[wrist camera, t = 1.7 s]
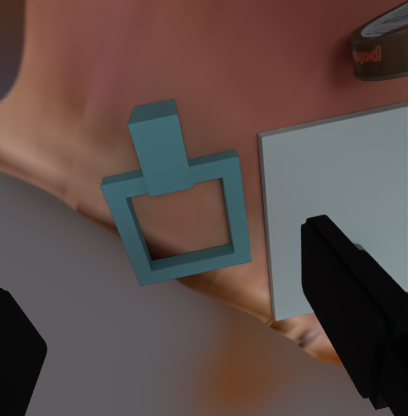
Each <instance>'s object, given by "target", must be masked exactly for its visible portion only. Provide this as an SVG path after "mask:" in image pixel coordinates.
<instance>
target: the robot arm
mask: <svg viewBox="0 0 408 416" xmlns="http://www.w3.org/2000/svg"><path fill="white" fill-rule="evenodd" d="M301 285H302V290H303V293H304V295H305V297H306V299H307V301H308V302H309V304H310V306H311V308H312V310H313V311H314V313H315V315H316V317H317V319H318V320H319V322H320V324H321V326H322V328H323V329H324V331H325V333H326V335H327V336H328V338H329V340H330V342H331V344H332V345H333V347H334V349H335V351H336V353H337V354H338V356H339V358H340V360H341V362H342V363H343V365H344V367H345V369H346V370H347V372H348V374H349V376H350V378H351V380H352V381H353V383H354V385H355V387H356V388H357V390H358V392H359V394H360V395H361V396H362V397H363V398H364V399H365V398H369V399H370V401H371V403H372V405H373V406H374V408H375V409H376V410H377V409H382V408H386V407H389V408H390V410H391V411H392V413H393V414H394V416H408V294H407V293H406V292H405V291H404V290H403V289H402V287H401V286H400V285H399V284H398V283H397V282H396V281H395V280H394V279H393V278H392V277H391V276H390V275H389V274H388V273H387V272H386V271H385V270H384V269H383V268H382V267H381V266H380V265H379V263H378V262H377V261H376V260H375V259H374V258H373V257H372V256H371V255H370V254H369V253H368V252H366V251H365V250H362V249H361V250H359V249H358V248H357V247H356V246H355V245H354V244H353V243H352V242H351V240H350V239H349V238H348V237H347V236H346V235H345V234H344V233H343V232H342V231H341V230H340V229H339V228H338V226H337V225H336V224H335V223H334V222H333V221H332V220H331V219H330V218H329V217H328V216H327V215H325V214H323V215H319V216H314V217H310V218H307V219H306V223H304V224H301ZM46 353H47V346H46V343H45V341H44V340H43V338H42V337H41V336H40V334H39V333H38V331H37V330H36V329H35V327H34V326H33V325H32V323H31V322H30V320H29V319H28V318H27V316H26V315H25V314H24V312H23V311H22V309H21V308H20V306H19V305H18V304H17V302H16V301H15V300H14V298H13V297H12V295H11V294H10V293H9V292H8V291H6V290H3V289H2V288H0V416H25V413H26V410H27V408H28V405H29V402H30V399H31V396H32V394H33V390H34V388H35V385H36V382H37V379H38V377H39V374H40V371H41V368H42V365H43V363H44V359H45V357H46Z"/></svg>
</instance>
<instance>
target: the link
mask: <svg viewBox="0 0 408 416" xmlns="http://www.w3.org/2000/svg"><path fill="white" fill-rule="evenodd" d="M128 127H129V130H130V133H131V136H132V140H133V143H134V146H135V149H136V153H137V156H138V159H139V163H140V166H141V169H142V170H138V171H133V172H128V173H124V174H119V175H114V176H110V177H105V178H103V180H102V183H101V189H102V191H103V194H104V196H105V199H106V201H107V204H108V206H109V209H110V211H111V214H112V216H113V219H114V221H115V224H116V226H117V229H118V231H119V234H120V236H121V239H122V241H123V244H124V246H125V249H126V251H127V254H128V256H129V259H130V261H131V264H132V266H133V269H134V271H135V274H136V276H137V279H138V282H139V284H140V286H143V285H148V284H152V283H156V282H161V281H166V280H170V279H175V278H179V277H184V276H189V275H193V274H198V273H202V272H207V271H211V270H216V269H220V268H225V267H229V266H234V265H238V264H243V263H247V262H252V261H251V252H250V244H249V236H248V227H247V219H246V211H245V202H244V194H243V186H242V177H241V169H240V161H239V155H238V154H237V152H236V151H235V150H232V151H227V152H222V153H218V154H213V155H208V156H204V157H199V158H194V159H189V160H187V156H186V151H185V147H184V142H183V137H182V133H181V128H180V124H179V119H178V114H177V110H176V105H175V101H174V99H170V100H165V101H160V102H155V103H151V104H146V105H141V106H136V107H134V109H133V112H132V114H131V117H130V120H129V123H128ZM218 178H221V181H222V187H223V194H224V200H225V206H226V213H227V219H228V225H229V231H230V238H231V244H227V245H222V246H218V247H213V248H209V249H204V250H200V251H195V252H191V253H186V254H181V255H177V256H172V257H168V258H163V259H159V260H154V261H152V260H151V257H150V254H149V251H148V248H147V245H146V243H145V240H144V237H143V234H142V231H141V228H140V225H139V222H138V220H137V217H136V214H135V211H134V208H133V205H132V202H131V200H130V197H134V196H139V195H143V194H148V193H149V195H150V197H153V196H158V195H163V194H167V193H172V192H177V191H181V190H186V189H191V188H193V184H194V183H199V182H204V181H208V180H213V179H218Z"/></svg>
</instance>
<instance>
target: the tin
mask: <svg viewBox="0 0 408 416" xmlns="http://www.w3.org/2000/svg"><path fill="white" fill-rule="evenodd" d="M350 47H351V53H352V58H353V63H354V68H355V70H354V76H355V77H356V78H357V79H359V80H362V81H381V80H389V79H394V78H400V77H405V76H408V1H406V2H404V3H402V4H400V5H399V6H397V7H395V8H393V9H391V10H389V11H387V12H385V13H383V14H381V15H380V16H378V17H376V18H374V19H373V20H371V21H369V22H368V23H366V24H365V25H363V26H361V27H360V28H359V29H357V30H356V31H355V32H354V33H353V35H352V36H351V38H350Z"/></svg>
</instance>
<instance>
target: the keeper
mask: <svg viewBox="0 0 408 416" xmlns="http://www.w3.org/2000/svg"><path fill="white" fill-rule="evenodd" d="M258 145H259V157H260V169H261V181H262V194H263V206H264V218H265V230H266V242H267V254H268V267H269V279H270V291H271V303H272V313H273V316H274V318H275V321H278V320H283V319H287V318H292V317H296V316H300V315H305V314H309V313H314V311H313V310H312V308H311V306H310V304H309V302H308V301H307V299H306V297H305V295H304V293H303V290H302V285H301V224H304V223H306V219H307V218H310V217H314V216H319V215H323V214H325V215H327V216H328V217H329V218H330V219H331V220H332V221H333V222H334V223H335V224H336V225H337V226H338V228H339V229H340V230H341V231H342V232H343V233H344V234H345V235H346V236H347V237H348V238H349V239H350V240H351V242H352V243H353V244H354V245H355V246H356V247H357V248H358V249H359V250H361V249H362V250H365V251H366V252H368V253H369V254H370V255H371V256H372V257H373V258H374V259H375V260H376V261H377V262H378V263H379V265H380V266H381V267H382V268H383V269H384V270H385V271H386V272H387V273H388V274H389V275H390V276H391V277H392V278H393V279H394V280H395V281H396V282H397V283H398V284H399V285H400V286H401V287H402V289H403V290H404V291H405V292H407V291H408V101H406V102H402V103H397V104H392V105H387V106H383V107H378V108H373V109H369V110H364V111H359V112H354V113H350V114H345V115H340V116H336V117H331V118H326V119H321V120H317V121H312V122H307V123H303V124H298V125H293V126H288V127H284V128H279V129H274V130H270V131H265V132H260V133H258Z"/></svg>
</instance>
